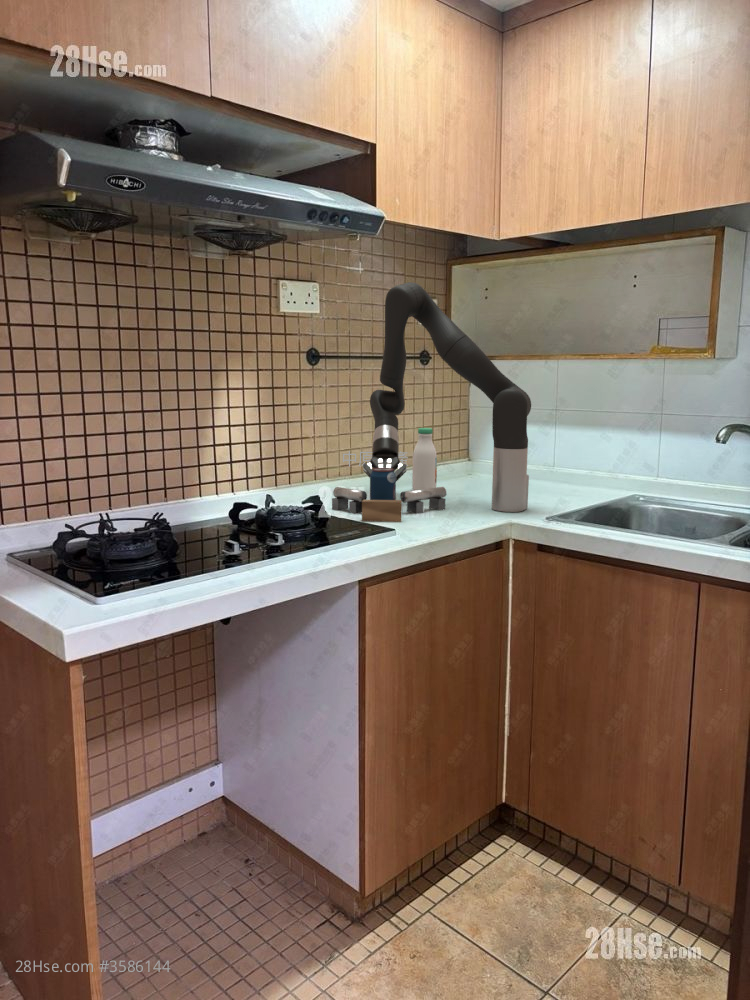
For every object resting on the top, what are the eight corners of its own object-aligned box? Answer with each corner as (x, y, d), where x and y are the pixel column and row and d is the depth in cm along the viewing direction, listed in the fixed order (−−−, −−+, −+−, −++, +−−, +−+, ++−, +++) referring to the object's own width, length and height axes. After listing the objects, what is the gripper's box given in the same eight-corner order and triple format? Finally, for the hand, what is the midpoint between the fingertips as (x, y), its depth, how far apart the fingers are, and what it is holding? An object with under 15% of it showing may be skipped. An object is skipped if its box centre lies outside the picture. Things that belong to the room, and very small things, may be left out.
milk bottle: (433, 493, 225) (434, 429, 221) (409, 491, 227) (410, 428, 224) (438, 489, 232) (439, 427, 229) (415, 488, 235) (416, 427, 231)
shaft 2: (437, 506, 202) (437, 485, 201) (447, 509, 199) (447, 487, 198) (399, 512, 194) (399, 490, 193) (408, 514, 191) (408, 492, 190)
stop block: (362, 518, 185) (362, 499, 184) (401, 519, 185) (401, 500, 184) (361, 521, 182) (362, 501, 181) (401, 521, 182) (401, 502, 181)
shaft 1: (368, 512, 194) (368, 490, 193) (357, 514, 191) (357, 491, 190) (342, 507, 201) (342, 486, 200) (332, 509, 198) (331, 487, 197)
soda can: (400, 513, 192) (400, 469, 190) (378, 516, 188) (378, 471, 186) (387, 509, 198) (387, 466, 196) (365, 511, 194) (365, 468, 192)
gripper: (362, 435, 205) (359, 484, 195) (408, 436, 204) (408, 485, 194) (363, 452, 211) (360, 500, 201) (408, 452, 210) (407, 501, 200)
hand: (383, 493), depth 198 cm, fingers closed
